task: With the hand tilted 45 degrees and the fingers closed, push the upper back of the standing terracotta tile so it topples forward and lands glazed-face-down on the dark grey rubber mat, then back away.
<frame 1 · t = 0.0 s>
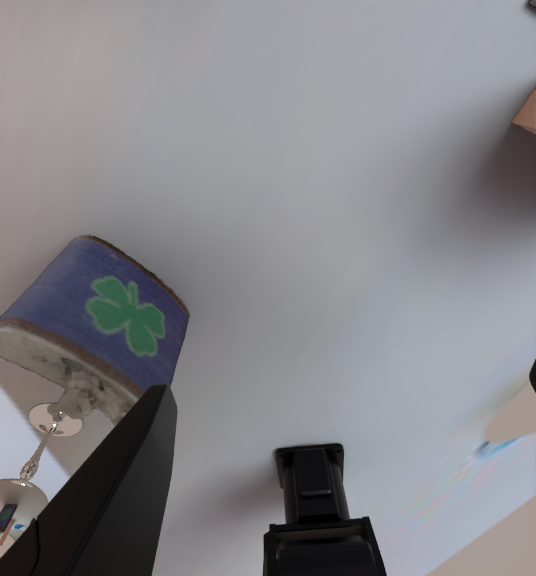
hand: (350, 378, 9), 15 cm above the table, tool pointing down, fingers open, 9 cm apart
flask: (137, 281, 25), on the table
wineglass: (57, 418, 32), on the table
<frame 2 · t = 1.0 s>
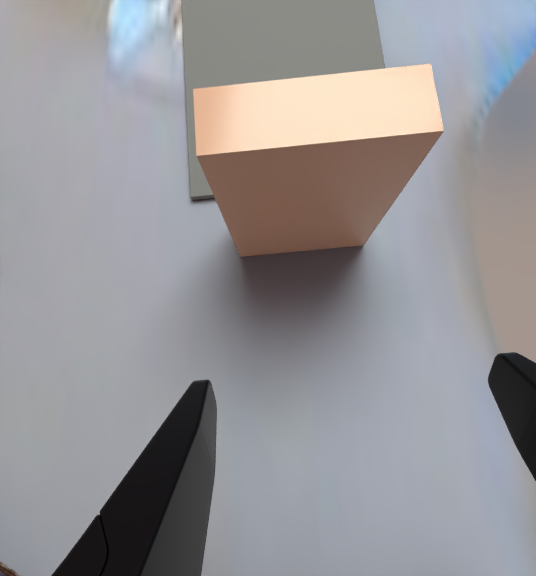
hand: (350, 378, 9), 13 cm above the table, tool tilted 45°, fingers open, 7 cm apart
tile: (299, 232, 24), on the table
mat: (284, 85, 26), on the table
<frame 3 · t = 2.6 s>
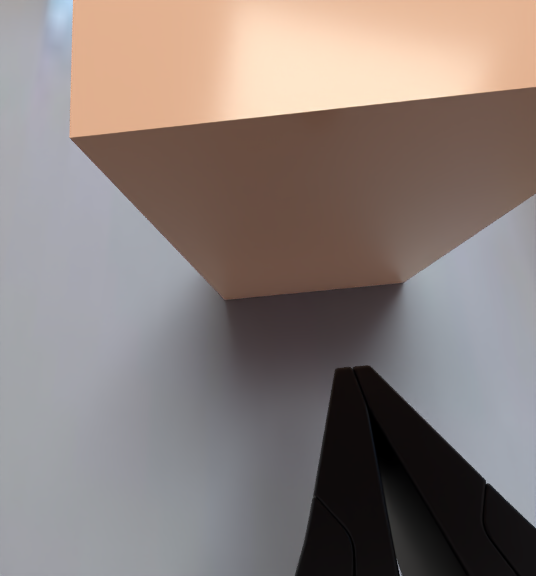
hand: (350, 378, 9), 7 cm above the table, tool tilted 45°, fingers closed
tile: (310, 264, 16), on the table
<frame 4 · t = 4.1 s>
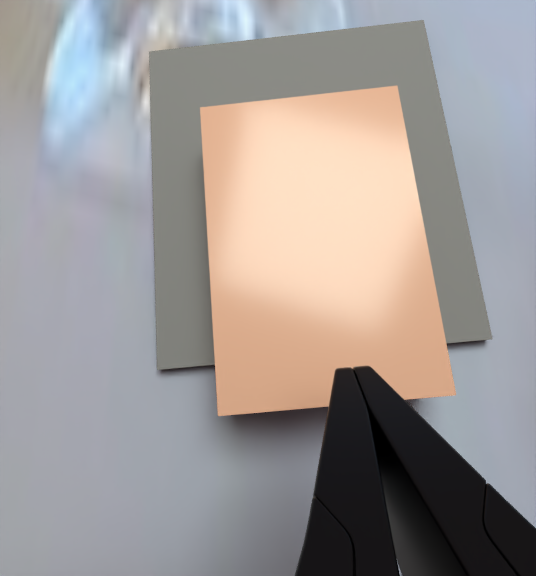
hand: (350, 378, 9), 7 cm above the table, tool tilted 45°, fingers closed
tile: (331, 401, 13), point 2 cm above the table, tilted 90°, touching mat
mat: (301, 184, 17), on the table
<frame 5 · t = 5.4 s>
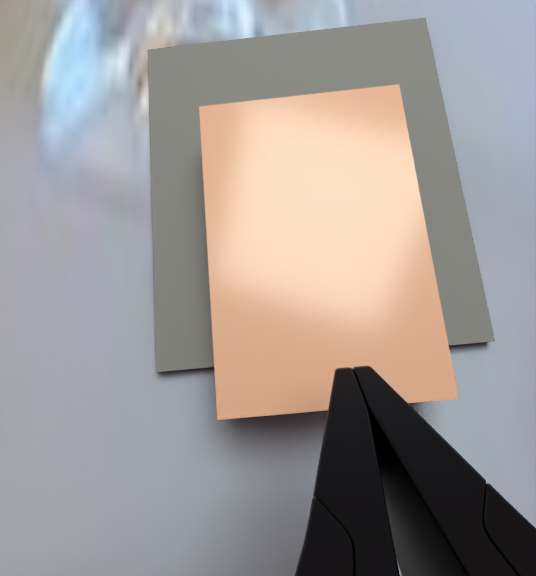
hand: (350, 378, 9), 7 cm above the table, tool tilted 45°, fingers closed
tile: (332, 405, 13), point 2 cm above the table, tilted 90°, touching mat
mat: (301, 184, 17), on the table
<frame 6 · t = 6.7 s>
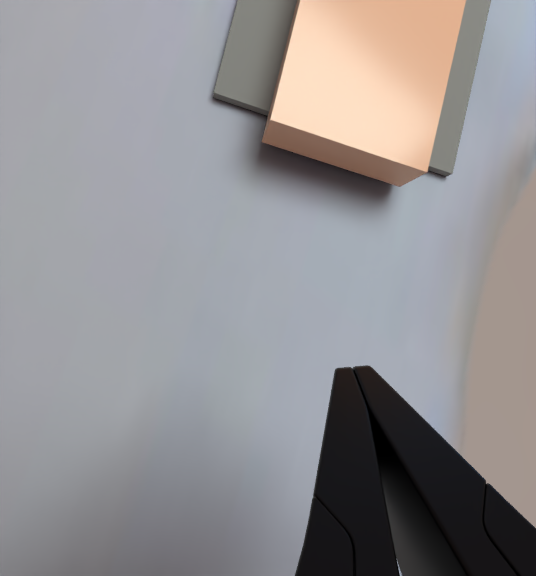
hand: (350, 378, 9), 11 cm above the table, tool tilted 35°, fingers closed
tile: (341, 156, 18), point 2 cm above the table, tilted 90°, touching mat
mat: (369, 5, 21), on the table
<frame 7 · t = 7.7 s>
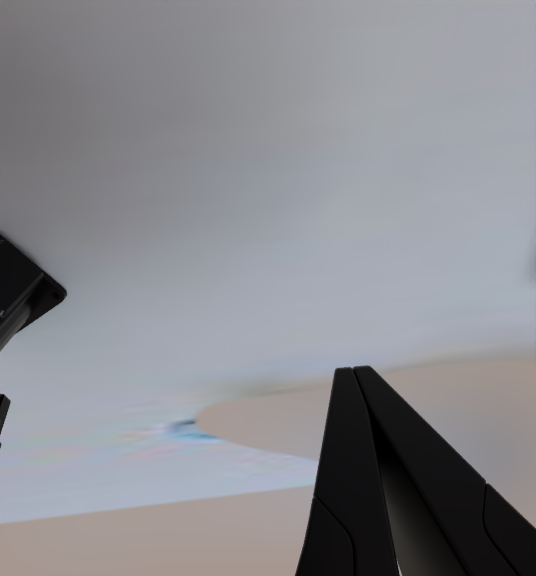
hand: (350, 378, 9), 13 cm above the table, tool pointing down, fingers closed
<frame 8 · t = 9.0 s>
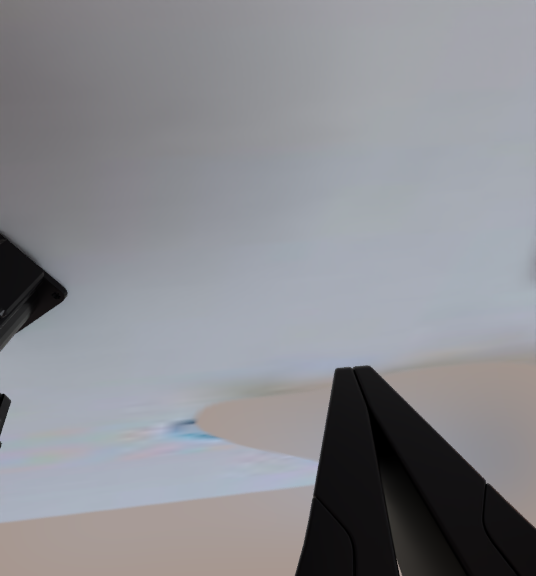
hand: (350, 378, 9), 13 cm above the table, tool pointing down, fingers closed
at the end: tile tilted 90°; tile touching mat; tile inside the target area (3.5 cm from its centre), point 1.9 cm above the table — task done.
